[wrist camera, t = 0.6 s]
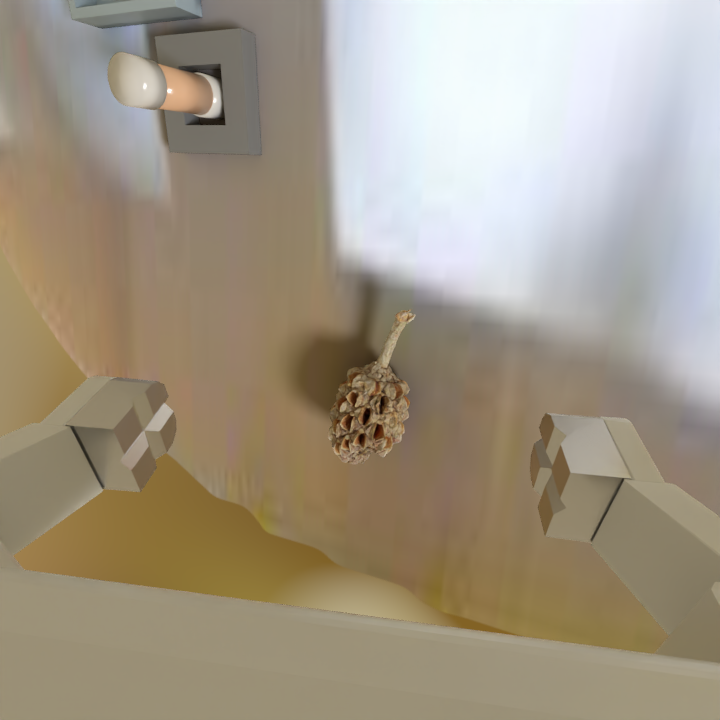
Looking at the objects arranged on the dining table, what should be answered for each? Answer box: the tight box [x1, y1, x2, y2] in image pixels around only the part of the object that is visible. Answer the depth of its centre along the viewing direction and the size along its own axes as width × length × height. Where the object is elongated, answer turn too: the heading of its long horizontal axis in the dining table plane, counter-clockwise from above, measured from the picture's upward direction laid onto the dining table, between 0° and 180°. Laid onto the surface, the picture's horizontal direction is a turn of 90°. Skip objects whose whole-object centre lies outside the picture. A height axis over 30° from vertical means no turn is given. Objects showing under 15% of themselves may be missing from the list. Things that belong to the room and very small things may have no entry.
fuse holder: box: [155, 28, 262, 155], centre depth 52 cm, size 12×12×2 cm
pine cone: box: [328, 309, 416, 465], centre depth 53 cm, size 22×10×10 cm, turn 169°
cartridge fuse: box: [108, 52, 225, 120], centre depth 47 cm, size 4×4×13 cm
